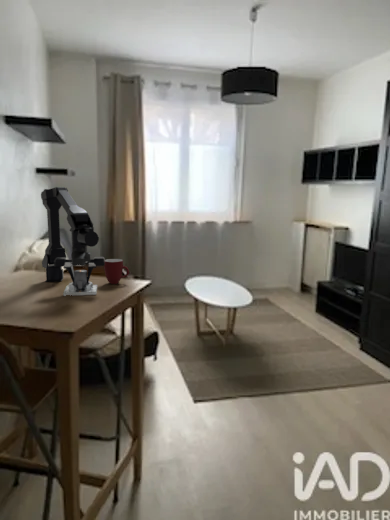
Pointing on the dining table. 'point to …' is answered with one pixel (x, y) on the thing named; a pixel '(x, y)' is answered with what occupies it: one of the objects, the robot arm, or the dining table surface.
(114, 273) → the mug
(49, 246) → the robot arm
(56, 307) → the dining table surface
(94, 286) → the hub
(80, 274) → the knob
